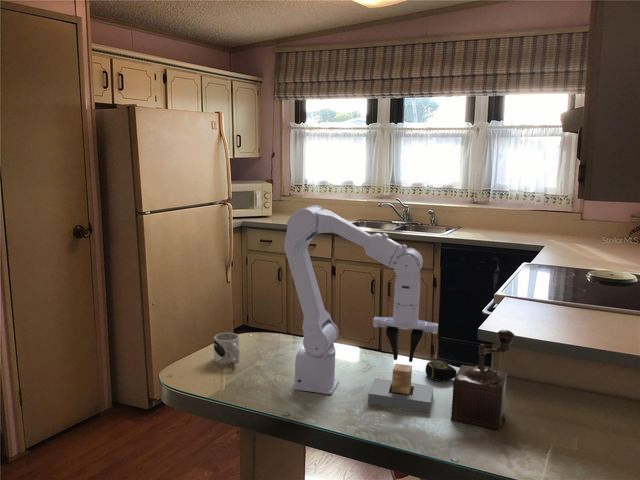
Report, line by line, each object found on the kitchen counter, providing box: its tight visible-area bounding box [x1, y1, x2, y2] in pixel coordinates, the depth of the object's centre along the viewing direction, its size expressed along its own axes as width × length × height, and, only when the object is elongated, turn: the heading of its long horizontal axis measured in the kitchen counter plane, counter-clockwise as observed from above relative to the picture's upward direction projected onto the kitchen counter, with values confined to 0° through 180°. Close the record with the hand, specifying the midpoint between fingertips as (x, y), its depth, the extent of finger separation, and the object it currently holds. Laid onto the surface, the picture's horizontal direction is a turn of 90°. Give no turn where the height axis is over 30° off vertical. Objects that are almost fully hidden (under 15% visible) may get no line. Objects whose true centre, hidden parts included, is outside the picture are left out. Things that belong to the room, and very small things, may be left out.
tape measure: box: [424, 359, 458, 382], centre depth 142 cm, size 7×7×4 cm
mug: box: [213, 332, 240, 366], centre depth 147 cm, size 10×7×7 cm
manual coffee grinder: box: [450, 329, 516, 432], centre depth 123 cm, size 16×11×18 cm
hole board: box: [367, 377, 434, 414], centre depth 128 cm, size 14×9×2 cm, turn 75°
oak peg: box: [391, 363, 413, 396], centre depth 128 cm, size 4×4×8 cm
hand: (403, 359), depth 127 cm, fingers open, 3 cm apart
